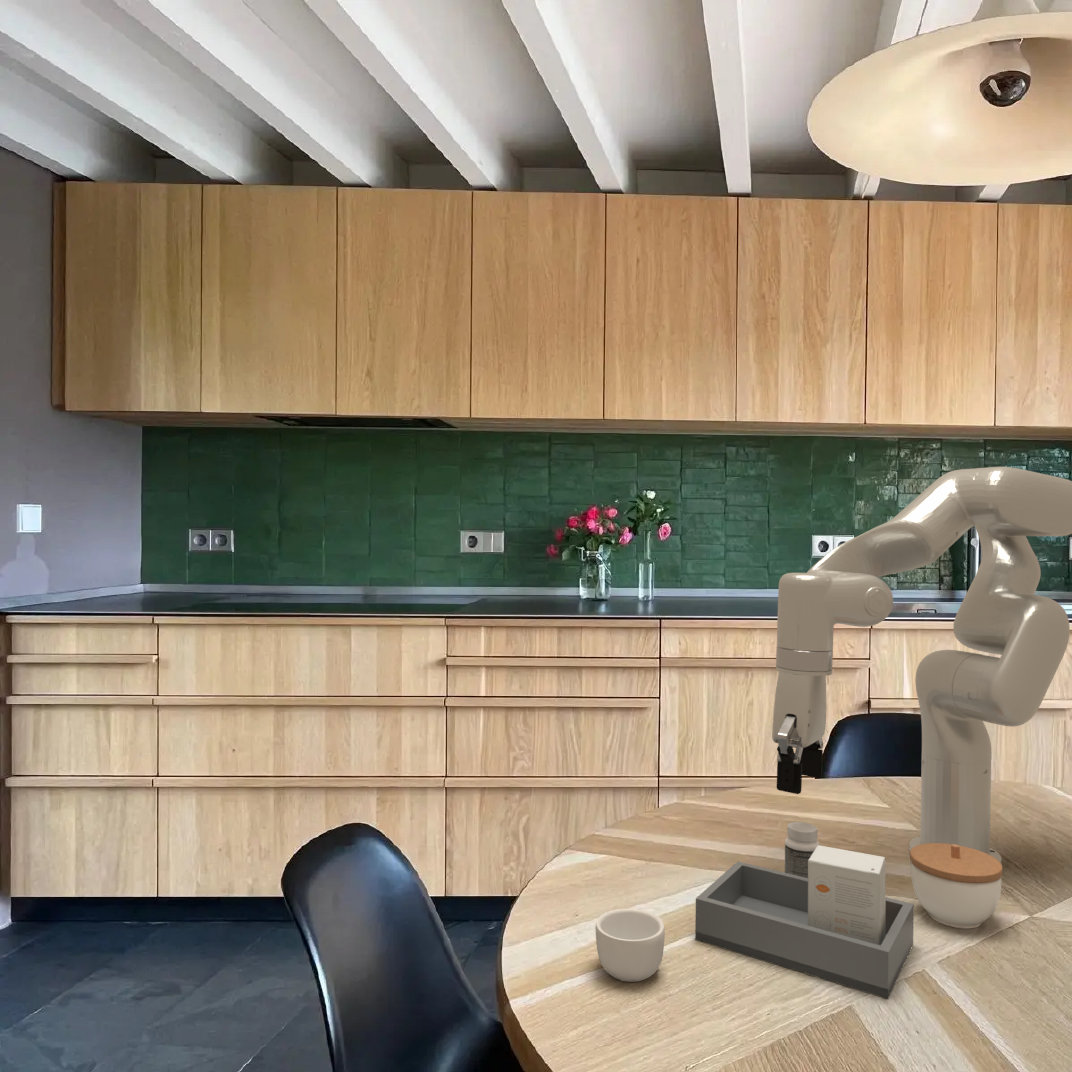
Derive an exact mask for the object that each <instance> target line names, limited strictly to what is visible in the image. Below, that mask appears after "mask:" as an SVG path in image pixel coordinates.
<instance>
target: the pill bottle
mask: <svg viewBox="0 0 1072 1072" xmlns="http://www.w3.org/2000/svg"><path fill="white" fill-rule="evenodd" d="M786 829H787V831H786V833H787V837H786V838H785V840H784V872H785V873H789V874H793V875H797V876H801V877H805V878H808V860H809V858H810V857H811V855H812V854H813V852H814V851H815V849H816V847H817V846H818V845H820V846H821V844H820V843H821V842H820V841H818V835H819V834H818V828H817V826H816V825H814V824H812V823H809V822H804V821H793V822H789V823H788V824H787V827H786Z"/></svg>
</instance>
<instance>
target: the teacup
mask: <svg viewBox="0 0 1072 1072" xmlns="http://www.w3.org/2000/svg"><path fill="white" fill-rule="evenodd" d="M665 935H666V931H665V923H664V922H663V920H662V919H661V917H659V916H658V915H656V914H655V913H652V912H650V911H647V910H643V909H639V908H631V907H630V908H616V909H612V910H608V911H606V912H603V913H602V914H601V915H599V916H598V918H597V919H596V922H595V940H596V942H595V943H596V952H597V955H598V960H599V962H600V964H601V966H602V968H604V970H605V971H606V972H607V973H608V974H609V975H610V976H612V977H613V978H615V979H616V980H619V981H622V982H626V983H627V982H628V983H638V982H642V981H644V980H646V979H648V978H650V977H651V976H652V975H654V974H655V973H656V972H657V970H658V969H659V967H660V966H661V964H662V961H663V956H664V949H665V938H666V937H665Z"/></svg>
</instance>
